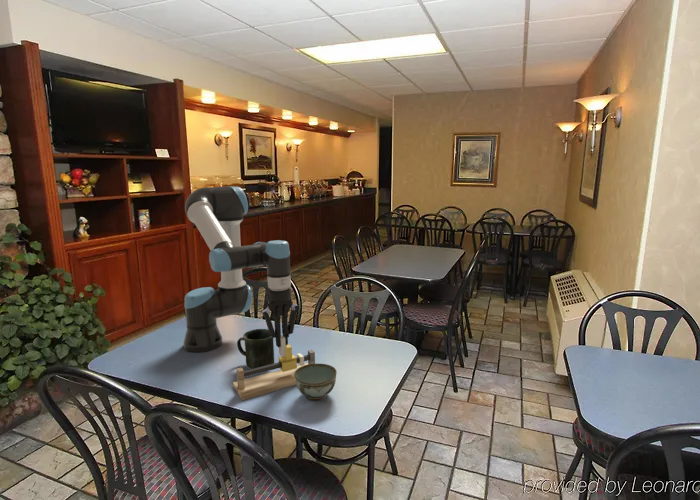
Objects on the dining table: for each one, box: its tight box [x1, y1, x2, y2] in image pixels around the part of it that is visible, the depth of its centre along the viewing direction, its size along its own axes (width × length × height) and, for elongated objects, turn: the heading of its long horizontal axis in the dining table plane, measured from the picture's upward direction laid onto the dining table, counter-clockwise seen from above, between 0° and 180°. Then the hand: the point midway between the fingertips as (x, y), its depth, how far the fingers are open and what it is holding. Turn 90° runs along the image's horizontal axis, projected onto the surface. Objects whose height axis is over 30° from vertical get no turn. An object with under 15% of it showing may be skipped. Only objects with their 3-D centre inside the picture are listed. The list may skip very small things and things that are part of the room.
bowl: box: [294, 363, 338, 402], centre depth 134 cm, size 14×13×8 cm
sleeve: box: [278, 343, 298, 372], centre depth 144 cm, size 4×5×8 cm
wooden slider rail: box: [232, 349, 316, 401], centre depth 143 cm, size 10×28×8 cm, turn 121°
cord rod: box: [244, 354, 310, 378], centre depth 143 cm, size 1×24×1 cm, turn 121°
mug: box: [236, 328, 275, 370], centre depth 156 cm, size 11×15×12 cm
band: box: [296, 352, 305, 366], centre depth 147 cm, size 3×1×3 cm, turn 31°
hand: (282, 354), depth 143 cm, fingers closed
